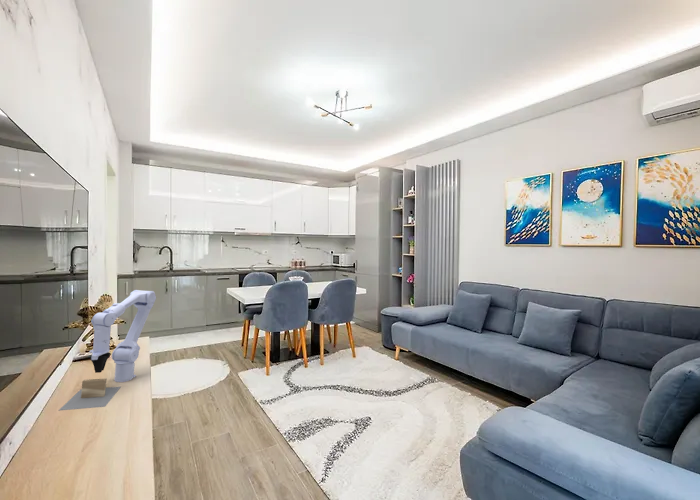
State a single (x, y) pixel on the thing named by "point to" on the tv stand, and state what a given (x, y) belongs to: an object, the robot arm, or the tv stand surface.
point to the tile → (93, 388)
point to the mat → (90, 400)
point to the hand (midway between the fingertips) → (99, 371)
